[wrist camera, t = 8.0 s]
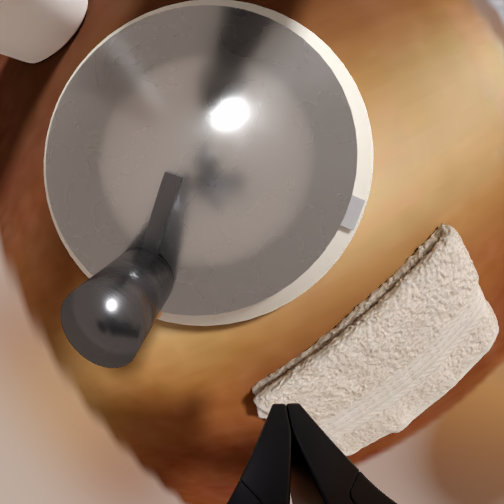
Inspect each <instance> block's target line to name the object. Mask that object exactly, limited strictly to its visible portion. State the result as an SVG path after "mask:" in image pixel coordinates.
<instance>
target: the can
mask: <svg viewBox="0 0 504 504" xmlns="http://www.w3.org/2000/svg"><path fill="white" fill-rule="evenodd" d="M87 6H88V0H0V54H3V55H6V56H9V57H12V58H15V59H18V60H21V61H24V62H27V63H37V62H40V61H42V60H44V59H46V58H48V57H49V56H51V55H53V54H54V53H56V52H57V51H58V50H60V49H61V48H62V47H63V46H64V45H65V44H66V43H67V42H68V41H69V40H70V39H71V38H72V37H73V35H74V34H75V33H76V31H77V30H78V28H79V27H80V25H81V23H82V21H83V19H84V17H85V14H86V10H87Z"/></svg>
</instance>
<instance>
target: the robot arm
mask: <svg viewBox="0 0 504 504" xmlns="http://www.w3.org/2000/svg"><path fill="white" fill-rule="evenodd" d="M290 493H291V498H292V503H293V504H397V503H395V502H394V501H393V500H391V499H390V498H389V497H387V496H386V495H385V494H384V493H382V492H381V491H380V490H378V488H376V487H375V486H374V485H373V484H372V483H371V482H370V481H369V480H368V479H367V478H366V477H365V476H364V475H363V474H362V473H361V472H359V470H358V468H357V467H356V466H355V465H354V464H353V463H352V462H351V461H350V460H349V459H348V458H347V457H346V456H345V455H344V453H343V452H342V451H341V450H340V449H339V448H338V447H337V446H336V445H335V444H334V442H333V441H332V440H331V439H330V438H329V437H328V436H327V435H326V434H325V432H324V431H323V430H322V429H321V428H320V427H319V426H318V424H317V423H316V422H315V421H314V420H313V419H312V418H311V416H310V415H309V414H308V413H307V412H306V411H305V409H304V408H303V407H302V406H301V405H300V404H299V403H288V404H286V405H285V404H273V405H272V407H271V409H270V412H269V414H268V417H267V419H266V421H265V424H264V426H263V429H262V431H261V433H260V436H259V438H258V440H257V442H256V445H255V447H254V449H253V452H252V454H251V456H250V458H249V460H248V463H247V465H246V467H245V469H244V471H243V473H242V476H241V478H240V481H239V482H238V484H237V486H236V488H235V490H234V492H233V494H232V495H231V497H230V499H229V501H228V503H227V504H290Z"/></svg>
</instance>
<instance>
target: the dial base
mask: <svg viewBox="0 0 504 504" xmlns="http://www.w3.org/2000/svg"><path fill="white" fill-rule="evenodd" d="M198 5H216V6H228V7H234V8H239V9H244V10H248V11H251V12H254V13H257V14H260V15H263V16H266V17H268V18H270V19H272V20H274V21H276V22H278V23H280V24H282V25H284V26H286V27H287V28H289V29H290V30H292V31H293V32H295V33H296V34H297V35H299V36H300V37H302V38H303V39H304V40H305V41H306V42H307V43H308V44H310V45H311V46H312V47H313V48H314V49H315V50H316V51H317V52H318V53H319V54H320V55H321V57H322V58H323V59H324V60H325V62H326V63H327V64H328V66H329V67H330V68H331V69H332V71H333V73H334V74H335V76H336V78H337V79H338V81H339V83H340V85H341V86H342V88H343V91H344V93H345V96H346V98H347V101H348V103H349V106H350V108H351V112H352V116H353V120H354V125H355V129H356V139H357V150H358V153H357V172H356V178H355V183H354V188H353V193H352V197H351V200H350V203H349V206H348V209H347V211H346V214H345V217H344V219H343V221H342V223H341V225H340V227H339V229H338V231H337V233H336V235H335V236H334V238H333V239H332V241H331V242H330V244H329V245H328V246H327V248H326V249H325V251H324V252H323V254H322V255H321V256H320V257H319V258H318V259H317V260H316V261H315V262H314V264H313V265H312V266H311V267H310V268H309V269H308V270H307V271H306V272H305V273H303V274H302V275H301V276H300V277H299V278H298V279H296V280H295V281H294V282H293V283H292V284H290V285H289V286H287V287H286V288H284V289H283V290H281V291H279V292H278V293H276V294H275V295H273V296H271V297H269V298H267V299H265V300H263V301H260V302H258V303H256V304H254V305H251V306H248V307H245V308H242V309H239V310H236V311H231V312H226V313H220V314H215V315H199V316H191V315H177V314H171V313H166V312H161V311H160V313H159V315H158V316H157V318H156V319H159V320H162V321H165V322H170V323H176V324H182V325H194V326H213V325H224V324H232V323H236V322H241V321H245V320H250V319H253V318H255V317H258V316H261V315H264V314H266V313H269V312H272V311H274V310H275V309H277V308H279V307H281V306H283V305H285V304H287V303H289V302H291V301H292V300H294V299H295V298H297V297H298V296H300V295H301V294H303V293H304V292H305V291H307V290H308V289H309V288H311V287H312V286H313V285H314V284H315V283H316V282H317V281H318V280H320V279H321V278H322V277H323V276H324V275H325V274H326V273H327V272H328V271H329V269H330V268H331V267H332V266H333V265H334V264H335V262H336V261H337V260H338V259H339V258H340V256H341V255H342V253H343V252H344V250H345V249H346V247H347V246H348V244H349V243H350V241H351V239H352V238H353V236H354V234H355V232H356V229H357V227H358V225H359V223H360V221H361V219H362V216H363V213H364V210H365V207H366V204H367V200H368V197H369V193H370V187H371V181H372V175H373V141H372V133H371V126H370V122H369V118H368V115H367V111H366V107H365V104H364V102H363V99H362V97H361V95H360V92H359V90H358V88H357V86H356V83H355V82H354V80H353V79H352V77H351V75H350V74H349V72H348V70H347V69H346V67H345V66H344V64H343V63H342V62H341V61H340V59H339V58H338V57H337V56H336V55H335V53H334V52H333V51H332V50H331V49H330V48H329V47H328V46H327V45H326V44H325V43H324V42H323V41H322V40H321V39H320V38H318V37H317V36H316V35H315V34H314V33H313V32H311V31H310V30H308V29H307V28H305V27H304V26H302V25H301V24H299V23H298V22H296V21H295V20H293V19H291V18H289V17H287V16H285V15H283V14H280V13H278V12H276V11H274V10H271V9H268V8H265V7H262V6H259V5H255V4H251V3H246V2H240V1H234V0H193V1H185V2H181V3H176V4H172V5H168V6H164V7H161V8H159V9H156V10H153V11H150V12H148V13H145V14H143V15H141V16H139V17H137V18H135V19H133V20H132V21H130V22H128V23H126V24H124V25H123V26H122V27H120V28H119V29H117V30H116V31H114V32H113V33H111V34H110V35H109V36H107V37H106V38H105V39H104V40H103V41H102V42H101V43H99V44H98V45H97V46H96V47H95V48H94V49H93V50H92V51H91V52H90V53H89V54H88V55H87V57H86V58H85V59H84V60H83V61H82V62H81V63H80V65H79V66H78V67H77V69H76V70H75V72H74V73H73V75H72V76H71V78H70V79H69V81H68V82H67V84H66V86H65V88H64V89H63V91H62V93H61V95H60V97H59V99H58V101H57V104H56V107H55V109H54V112H53V115H52V118H51V121H50V125H49V129H48V133H47V138H46V144H45V153H44V183H45V190H46V197H47V202H48V206H49V209H50V213H51V217H52V220H53V222H54V225H55V227H56V230H57V232H58V234H59V237H60V239H61V240H62V242H63V244H64V246H65V248H66V249H67V251H68V253H69V254H70V256H71V257H72V259H73V260H74V261H75V263H76V264H77V265H78V267H79V268H80V269H81V270H82V272H83V273H84V274H85V275H86V276H87V277H88V278H89V279H90V278H91V277H92V276H93V275H92V274H91V273H90V272H89V271H88V270H87V269H86V268H85V267H84V266H83V265H82V264H81V262H80V261H79V260H78V259H77V258H76V256H75V255H74V253H73V252H72V250H71V249H70V248H69V246H68V245H67V243H66V241H65V239H64V237H63V235H62V233H61V231H60V229H59V227H58V225H57V222H56V220H55V217H54V214H53V211H52V208H51V204H50V200H49V195H48V190H47V181H46V150H47V142H48V136H49V131H50V128H51V124H52V120H53V116H54V114H55V111H56V109H57V106H58V104H59V101H60V99H61V97H62V95H63V93H64V91H65V90H66V88H67V86H68V84H69V82H70V81H71V79H72V78H73V76H74V75H75V74H76V72H77V71H78V69H79V68H80V67H81V65H82V64H83V63H84V62H85V61H86V60H87V59H88V58H89V57H90V55H91V54H92V53H93V52H94V51H95V50H96V49H97V48H99V47H100V46H101V45H102V44H103V43H104V42H106V41H107V40H108V39H109V38H110V37H112V36H113V35H115V34H116V33H118V32H119V31H121V30H122V29H124V28H126V27H127V26H129V25H131V24H133V23H135V22H137V21H139V20H141V19H143V18H145V17H148V16H151V15H154V14H157V13H160V12H163V11H166V10H171V9H175V8H180V7H186V6H198Z"/></svg>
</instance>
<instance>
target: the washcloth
mask: <svg viewBox="0 0 504 504" xmlns="http://www.w3.org/2000/svg"><path fill="white" fill-rule="evenodd" d="M478 280H479V277H478V274H477V271H476V269H475V267H474V265H473V261H472V260H471V258H470V255H469V252H468V251H467V249H466V247H465V246H464V244H463V242H462V239H461V237H460V236H459V234H458V233H457V231H456V230H455V229H454V228H452V227H451V226H449V225H444V224H443V223H441V227H439V228H438V229H436V230H435V231H434V233H433V234H432V235H431V237H430V238H429V239H428V240H427V241H425V242H424V243H423V245H422V246H419V249H418V250H417V251H416V252H415V253H414V255H413V256H410V257H409V258H408V259H407V260H406V262H405V263H404V264H403V265H402V266H401V267H400V269H398V270H397V271H396V272H395V274H394V275H393V276H392V277H390V278H388V279H387V281H386V282H385V283H384V284H382V285H381V286H380V287H379V288H378V289H376V290H374V291H373V292H372V293H371V294H370V297H369V298H367V299H366V300H364V301H363V302H360V303H359V305H358V306H356V307H355V310H353V311H351V312H350V313H349V315H348V317H346V318H344V319H343V320H342V321H341V322H340V323H339V324H338V325H337V326H336V328H335V329H333V330H330V331H329V332H328V333H327V334H325V335H324V336H322V337H320V338H319V340H318V341H317V342H316V343H315V344H314V345H312V346H311V347H310V348H309V349H308V350H306V351H304V352H302V353H300V354H299V356H297V357H296V358H294V359H292V360H291V361H289V362H288V363H286V364H285V365H284V366H283V367H281V368H280V369H277V370H276V371H275V372H274V373H272V374H270V375H268V376H267V377H266V378H264V379H263V380H261V381H259V382H257V383H256V384H255V385H254V386H253V387H252V392H253V393H254V395H255V397H254V398H253V401H254V403H255V404H256V406H257V412H258V416H259V417H260V418H266V419H267V417H268V414H269V412H270V409H271V407H272V405H273V404H285V405H286V404H288V403H299V404H300V405H301V406H302V407H303V408H304V409H305V411H306V412H307V413H308V414H309V415H310V416H311V418H312V419H313V420H314V421H315V422H316V423H317V424H318V426H319V427H320V428H321V429H322V430H323V431H324V432H325V434H326V435H327V436H328V437H329V438H330V439H331V440H332V441H333V442H334V444H335V445H336V446H337V447H338V448H339V449H340V450H341V451H342V452H343V453H344V455H345V456H348V455H352V454H354V453H356V452H357V451H359V450H360V449H361V448H363V447H365V446H367V445H369V444H370V443H372V442H375V441H376V440H378V439H379V438H381V437H384V436H386V435H388V434H390V433H398V432H400V431H402V430H403V429H404V428H405V427H407V426H408V425H409V423H410V422H411V421H412V420H413V419H415V418H416V417H417V416H418V415H420V414H421V413H422V412H423V411H424V410H425V409H427V408H428V407H429V406H431V405H432V404H433V403H434V402H436V401H437V400H438V399H440V398H441V397H442V396H444V395H445V394H446V393H447V392H448V391H449V390H450V389H451V388H453V387H454V386H455V385H456V384H457V383H458V382H459V380H461V379H462V377H463V376H464V375H465V374H466V373H467V372H468V371H469V370H470V369H471V368H472V367H473V366H474V365H475V364H476V363H477V362H478V361H479V360H480V359H481V358H482V357H483V356H484V355H485V354H486V353H487V352H488V351H489V349H490V348H491V346H492V344H493V343H494V341H495V339H496V337H497V335H498V332H499V327H498V322H497V319H496V316H495V314H494V312H493V310H492V308H491V306H490V305H489V303H488V301H486V300H485V298H484V295H483V292H482V290H481V288H480V286H479V284H478Z"/></svg>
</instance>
